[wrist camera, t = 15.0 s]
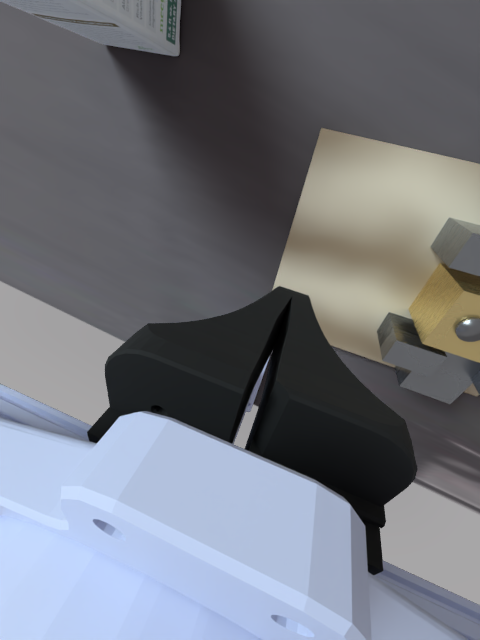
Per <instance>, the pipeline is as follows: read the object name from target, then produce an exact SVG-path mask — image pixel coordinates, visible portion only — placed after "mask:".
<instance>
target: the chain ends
mask: <svg viewBox="0 0 480 640" xmlns="http://www.w3.org/2000/svg"><path fill="white" fill-rule="evenodd" d="M430 247H431V248H432V249H433V250H434V251H435V253H436V254H437V255H438V256H439V257H440V258H441V259H442V260H443V262H444V263H445V264H446V265H447V266H448V267H449V268H452V269H456V270H459V271H463V272H466V273H470V274H473V275H477V276H480V225H477V224H473V223H469V222H465V221H462V220H458V219H454V218H450V217H449V218H448V220H447V221H446V223H445V224H444V226H443V228H442V229H441V231H440V232H439V234H438V235H437V237H436V239H435V240H434V242H433V243H432V245H431V246H430ZM377 334H378V340H379V345H380V351H381V356H382V361H385V362H388V363H391V364H393V365H396V366H395V369H396V374H397V378H398V382H399V386H401V387H404V388H406V389H409V390H412V391H415V392H417V393H420V394H423V395H426V396H428V397H431V398H434V399H437V400H439V401H442V402H445V403H448V404H451V403H452V402H453V401H454V400H455V399H456V398H457V397H459V396H460V395H461V394H462V393H463V392H464V391H465V390H466V389H467V388H468V387H469V386H470V385H471V384H472V383H473V384H474V386H475V388H476V390H477V392H478V393H479V395H480V363H479V362H476V361H473V360H470V359H467V358H464V357H461V356H458V355H455V354H452V353H449V352H446V351H443V350H440V349H437V348H434V347H431V346H428V345H425V344H422V342H421V340H420V337H419V335H418V332H417V330H416V327H415V325H414V322H413V320H412V319H409V318H406V317H403V316H400V315H397V314H394V313H391V312H389V313H388V314H387V316H386V317H385V319H384V320H383V322H382V324H381V325H380V327H379V328H378V330H377Z"/></svg>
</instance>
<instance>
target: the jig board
mask: <svg viewBox="0 0 480 640" xmlns="http://www.w3.org/2000/svg"><path fill="white" fill-rule="evenodd" d="M449 217H450V218H454V219H458V220H462V221H465V222H469V223H473V224H477V225H480V164H477V163H473V162H469V161H464V160H460V159H455V158H451V157H447V156H442V155H438V154H433V153H429V152H425V151H420V150H416V149H412V148H407V147H403V146H398V145H394V144H390V143H385V142H381V141H377V140H372V139H368V138H363V137H359V136H355V135H350V134H346V133H342V132H337V131H333V130H328V129H324V128H321V131H320V134H319V137H318V141H317V144H316V147H315V151H314V154H313V157H312V161H311V164H310V167H309V171H308V174H307V177H306V181H305V184H304V187H303V190H302V194H301V197H300V200H299V204H298V207H297V210H296V214H295V217H294V220H293V224H292V227H291V230H290V233H289V237H288V240H287V243H286V247H285V250H284V253H283V257H282V260H281V263H280V267H279V270H278V273H277V277H276V280H275V283H274V286H273V290H274V289H275V288H276V287H279V286H281V287H284V288H287V289H290V290H293V291H296V292H299V293H302V294H306V295H309V297H310V300H311V304H312V307H313V310H314V313H315V316H316V318H317V321H318V323H319V325H320V328H321V330H322V332H323V334H324V336H325V337H326V339H327V341H328V342H329V344H330V345H332V346H334V347H337V348H340V349H343V350H346V351H349V352H352V353H354V354H357V355H360V356H363V357H366V358H369V359H371V360H374V361H377V362H380V363H383V364H386V365H388V366H391V367H394V368H395V366H396V365H393V364H391V363H388V362H385V361H382V356H381V351H380V345H379V340H378V334H377V330H378V328H379V327H380V325H381V324H382V322H383V320H384V319H385V317H386V316H387V314H388V313H389V312H391V313H394V314H397V315H400V316H403V317H406V318H409V319H412V317H411V315H410V312H409V310H408V309H409V307H410V306H411V304H412V303H413V301H414V300H415V298H416V297H417V295H418V294H419V293H420V291H421V290H422V288H423V287H424V285H425V284H426V282H427V281H428V279H429V278H430V276H431V275H432V273H433V272H434V271H435V269H436V268H437V266H438V265H439V263H443V264H445V263H444V262H443V260H442V259H441V258H440V257H439V256H438V255H437V254H436V253H435V251H434V250H433V249H432V248H431V247H430V246H431V245H432V243H433V242H434V240H435V239H436V237H437V235H438V234H439V232H440V231H441V229H442V228H443V226H444V224H445V223H446V221H447V220H448V218H449ZM273 290H272V291H273ZM464 392H465V393H468V394H471V395H474V396H478V395H479V393H478V392H477V390H476V388H475V386H474V384H473V383H472V384H471V385H470V386H469V387H468V388H467V389H466V390H465V391H464Z"/></svg>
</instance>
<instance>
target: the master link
mask: <svg viewBox="0 0 480 640" xmlns="http://www.w3.org/2000/svg"><path fill="white" fill-rule="evenodd" d="M408 310H409V312H410V315H411V317H412V320H413V322H414V325H415V327H416V330H417V332H418V335H419V337H420V340H421V342H422V344H425V345H428V346H431V347H434V348H437V349H440V350H443V351H446V352H449V353H452V354H455V355H458V356H461V357H464V358H467V359H470V360H473V361H476V362H479V363H480V276H477V275H473V274H470V273H466V272H463V271H459V270H456V269H452V268H449V267H448V266H447V265H446V264H443V263H439V265H438V266H437V268H436V269H435V271H434V272H433V273H432V275H431V276H430V278H429V279H428V281H427V282H426V284H425V285H424V287H423V288H422V290H421V291H420V293H419V294H418V295H417V297H416V298H415V300H414V301H413V303H412V304H411V306H410V307H409V309H408Z"/></svg>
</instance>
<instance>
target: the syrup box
mask: <svg viewBox="0 0 480 640" xmlns="http://www.w3.org/2000/svg"><path fill="white" fill-rule="evenodd" d="M0 1H1V2H3V3H6V4H8V5H10V6H13V7H15V8H17V9H20V10H22V11H25V12H27V13H29V14H32V15H34V16H36V17H38V18H41V19H43V20H45V21H48V22H50V23H52V24H55V25H57V26H60V27H62V28H65V29H67V30H70V31H72V32H74V33H77V34H79V35H81V36H84V37H86V38H89V39H91V40H93V41H95V42H98V43H101V44H103V45H110V46H116V47H122V48H128V49H134V50H140V51H146V52H151V53H157V54H163V55H169V56H179V53H180V42H179V35H180V15H181V0H0Z"/></svg>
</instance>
